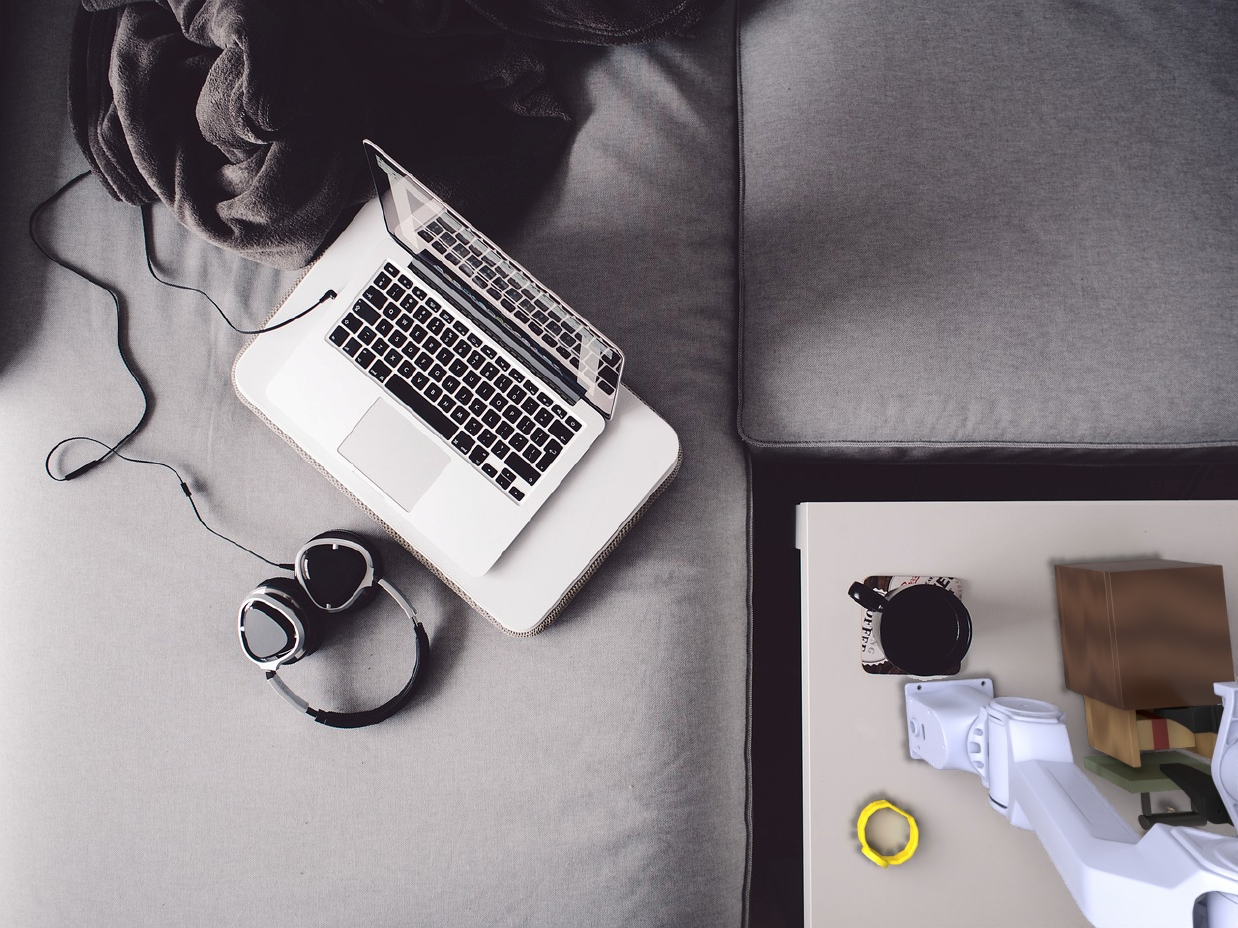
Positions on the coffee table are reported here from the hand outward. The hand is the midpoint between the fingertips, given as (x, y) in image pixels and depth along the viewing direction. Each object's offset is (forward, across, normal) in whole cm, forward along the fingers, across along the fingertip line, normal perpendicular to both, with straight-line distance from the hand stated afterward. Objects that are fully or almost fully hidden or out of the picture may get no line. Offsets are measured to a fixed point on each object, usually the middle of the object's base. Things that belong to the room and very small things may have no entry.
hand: (1166, 737), depth 69 cm
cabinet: (+6, +10, 0) cm, 12 cm away
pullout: (+5, -1, 0) cm, 5 cm away
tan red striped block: (+4, 0, 0) cm, 4 cm away
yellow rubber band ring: (+5, -7, +25) cm, 27 cm away
